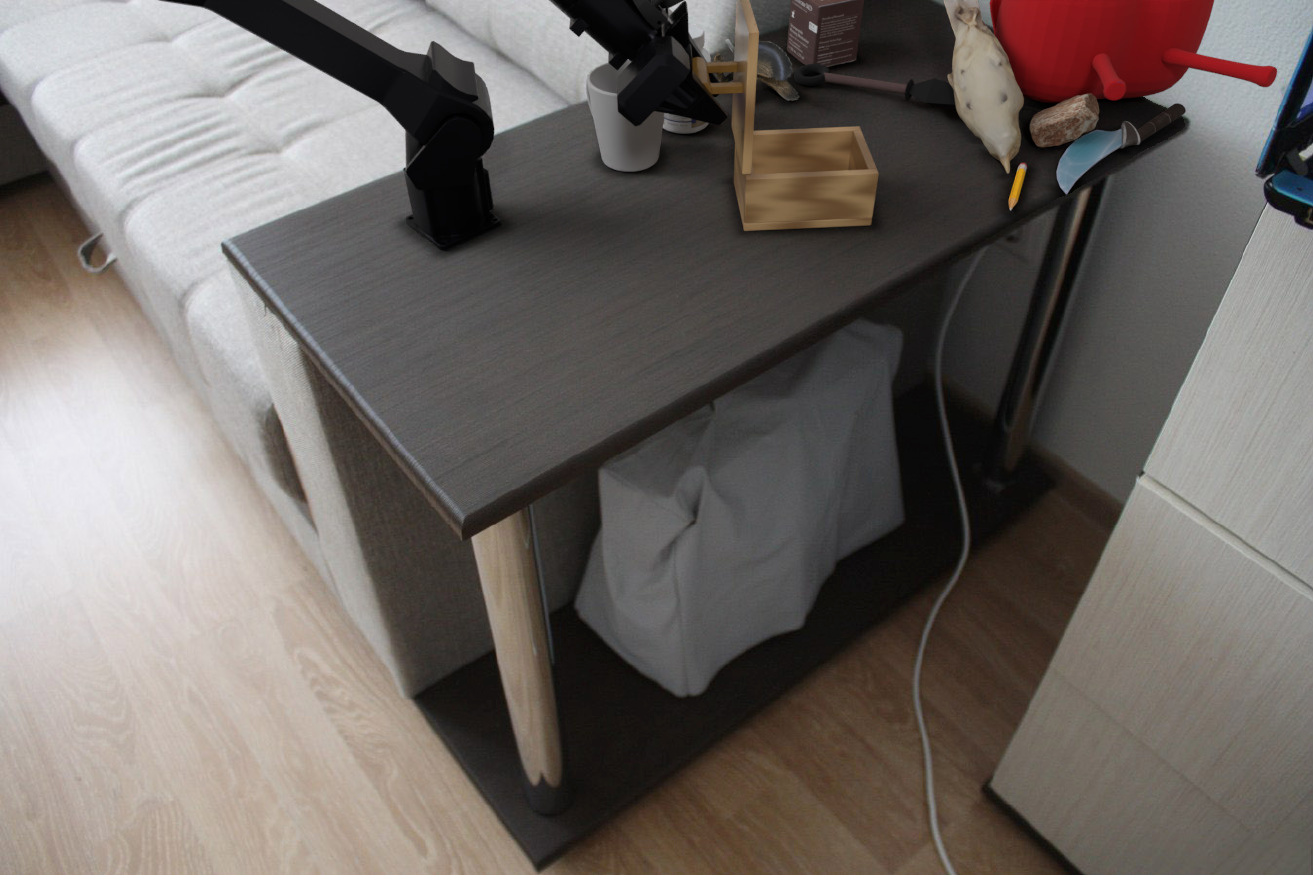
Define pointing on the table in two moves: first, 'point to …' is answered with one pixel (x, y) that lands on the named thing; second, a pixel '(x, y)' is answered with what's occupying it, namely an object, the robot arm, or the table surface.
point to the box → (824, 31)
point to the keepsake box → (807, 179)
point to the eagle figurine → (767, 69)
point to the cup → (621, 125)
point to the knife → (1107, 145)
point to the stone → (1065, 121)
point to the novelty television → (1108, 47)
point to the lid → (738, 81)
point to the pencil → (1017, 185)
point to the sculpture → (984, 82)
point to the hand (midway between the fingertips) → (721, 106)
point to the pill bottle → (683, 123)
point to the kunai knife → (886, 86)
